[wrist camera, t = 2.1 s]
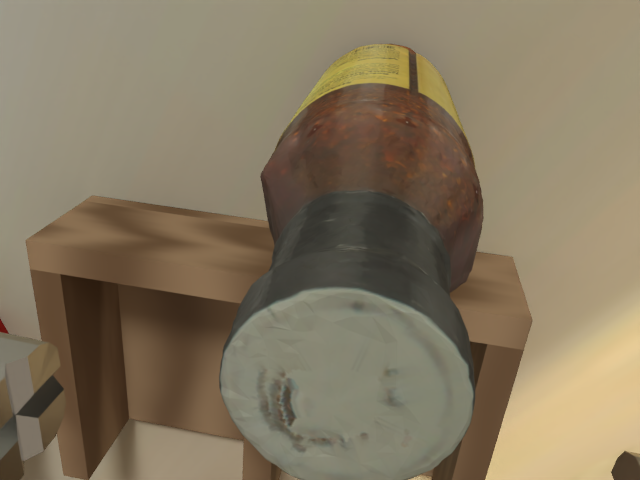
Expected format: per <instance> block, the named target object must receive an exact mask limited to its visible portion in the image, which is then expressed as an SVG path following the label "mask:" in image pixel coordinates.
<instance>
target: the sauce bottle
mask: <svg viewBox="0 0 640 480" xmlns="http://www.w3.org/2000/svg"><path fill="white" fill-rule="evenodd" d="M261 181H262V186H263V192H264V198H265V204H266V211H267V217H268V223H269V228H270V232H271V235H272V238H273V240H274V251H273V255H272V264H271V266H270V269H269V271H268V272H267V273H265V274H264V275H262V276H261V277H260V278H259V279H258V280H257V281H255V282H254V283H253V284H252V285H251V287H250V289H249V290H248V292H247V294H246V295H245V297H244V299H243V300H242V302H241V304H240V306H239V308H238V311H237V315H236V318H235V319H234V321H233V325H232V329H231V332H230V334H229V336H228V338H227V340H226V342H225V344H224V347H223V355H222V360H221V364H220V373H219V388H220V393H221V396H222V399H223V402H224V404H225V406H226V408H227V410H228V412H229V414H230V417H231V419H232V420H233V422H234V423H235V425H236V426H237V428H238V429H239V431H240V432H241V433H242V435H243V436H244V437H245V438H246V439H247V440H248V441H249V442H250V443H251V444H252V445H253V446H254V447H255V448H256V449H257V450H258V452H259V453H260V454H261V455H262V456H263V457H264V458H265V459H266V460H268V461H269V462H271V463H273V464H275V465H277V466H278V467H279V468H280V469H282V470H283V471H284V472H286V473H287V474H289V475H291V476H293V477H296V478H298V479H301V480H408V479H411V478H414V477H416V476H418V475H420V474H423V473H425V472H427V471H430V470H432V469H433V468H435V467H436V466H437V465H439V464H440V463H441V461H442V460H443V459H445V458H446V457H448V456H449V455H451V454H452V453H453V451H454V450H455V449H456V447H457V446H458V445H459V443H460V441H461V440H462V439H463V437H464V436H465V434H466V432H467V430H468V428H469V425H470V423H471V419H472V415H473V410H474V404H475V381H474V366H473V359H472V354H471V348H470V340H469V336H468V332H467V329H466V326H465V324H464V322H463V319H462V317H461V314H460V311H459V309H458V308H457V307H456V305H455V304H454V302H453V301H452V299H451V298H450V293H451V292H452V291H454V290H455V289H457V288H458V287H459V286H460V285H462V284H463V283H465V282H466V281H467V279H468V276H469V274H470V272H471V271H472V268H473V263H474V259H475V255H476V251H477V246H478V242H479V238H480V234H481V230H482V222H483V199H482V195H481V188H480V184H479V179H478V176H477V173H476V170H475V163H474V158H473V154H472V151H471V148H470V145H469V143H468V140H467V137H466V135H465V132H464V130H463V127H462V125H461V122H460V120H459V117H458V114H457V111H456V109H455V106H454V104H453V101H452V99H451V96H450V93H449V91H448V89H447V86H446V84H445V82H444V80H443V78H442V77H441V75H440V74H439V72H438V71H437V70H436V68H435V67H434V66H433V65H432V64H431V63H430V62H429V61H428V60H427V59H425V58H424V57H422V56H421V55H420V54H416V53H415V52H414V51H413V50H411V49H410V48H407V47H405V46H400V45H394V44H374V45H368V46H362V47H359V48H357V49H354V50H352V51H351V52H349V53H347V54H346V55H344V56H342V57H341V58H339V59H338V60H337V61H336V62H334V63H333V64H332V65H331V66H330V67H329V68H328V69H327V70H326V71H325V73H324V74H323V75H322V77H321V78H320V80H319V81H318V83H317V84H316V85H315V87H314V88H313V90H312V91H311V92H310V94H309V95H308V96H307V98H306V99H305V101H304V102H303V103H302V105H301V106H300V108H299V109H298V111H297V112H296V114H295V115H294V117H293V119H292V120H291V122H290V123H289V125H288V126H287V128H286V129H285V130H284V132H283V133H282V135H281V137H280V139H279V141H278V144H277V146H276V148H275V151H274V153H273V154H272V156H271V158H270V160H269V161H268V163H267V164H266V166H265V168H264V170H263V171H262V173H261Z"/></svg>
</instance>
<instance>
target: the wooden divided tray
mask: <svg viewBox="0 0 640 480" xmlns="http://www.w3.org/2000/svg"><path fill="white" fill-rule="evenodd" d="M26 246H27V252H28V259H29V265H30V271H31V277H32V283H33V289H34V296H35V302H36V308H37V314H38V320H39V326H40V333H41V339H42V341H44V342H49V343H51V344H52V345H54V346H55V347H57V349H58V354H59V359H60V364H61V366H60V367H59V369H58V370H57V371H56V372H55V374H54V375H53V376H54V377H55V378H56V380H57V381H58V382H59V383H60V385H61V386H62V387H63V388H64V392H65V400H66V404H65V412H64V418H63V420H62V422H61V425H60V427H59V429H58V432H57V437H58V443H59V449H60V456H61V462H62V468H63V474H64V475H65V476H70V477H75V478H79V479H84V480H89V479H90V477H91V475H92V474H93V472H94V471H95V469H96V468H97V466H98V465H99V463H100V462H101V460H102V459H103V457H104V456H105V454H106V453H107V451H108V450H109V448H110V447H111V445H112V444H113V442H114V441H115V439H116V438H117V436H118V435H119V433H120V432H121V430H122V429H123V427H124V426H125V424H126V423H127V421H128V420H129V418H130V419H135V420H140V421H145V422H150V423H156V424H161V425H166V426H171V427H176V428H182V429H187V430H192V431H197V432H203V433H208V434H213V435H218V436H223V437H229V438H234V439H239V440H244V450H243V480H279V477H280V474H281V470H282V469H280V468H279V467H278V466H277V465H275V464H273V463H271V462H269V461H268V460H266V459H265V458H264V457H263V456H262V455H261V454H260V453H259V452H258V450H257V449H256V448H255V447H254V446H253V445H252V444H251V443H250V442H249V441H248V440H247V439H246V438H245V437H244V436H243V435H242V433H241V432H240V431H239V429H238V428H237V426H236V425H235V423H234V422H233V420H232V419H231V417H230V414H229V412H228V410H227V408H226V406H225V404H224V402H223V399H222V396H221V393H220V388H219V373H220V364H221V360H222V355H223V347H224V344H225V342H226V340H227V338H228V336H229V334H230V332H231V329H232V325H233V321H234V319H235V318H236V315H237V311H238V308H239V306H240V304H241V302H242V300H243V299H244V297H245V295H246V294H247V292H248V290H249V289H250V287H251V285H252V284H253V283H254V282H255V281H257V280H258V279H259V278H260V277H261V276H262V275H264V274H265V273H267V272H268V271H269V269H270V266H271V264H272V255H273V251H274V240H273V238H272V235H271V232H270V228H269V223H268V221H262V220H256V219H249V218H242V217H235V216H228V215H221V214H215V213H208V212H201V211H194V210H187V209H180V208H174V207H167V206H160V205H153V204H146V203H139V202H133V201H126V200H119V199H112V198H105V197H98V196H91V197H89V198H88V199H86V200H85V201H84V202H82V203H81V204H79V205H78V206H76V207H75V208H73V209H72V210H70V211H69V212H67V213H66V214H64V215H63V216H61V217H60V218H58V219H57V220H55V221H54V222H52V223H51V224H49V225H48V226H46V227H45V228H43V229H42V230H40V231H39V232H37V233H36V234H34V235H33V236H31V237H30V238H28V239H27V240H26ZM450 298H451V299H452V301H453V302H454V304H455V305H456V307H457V308H458V309H459V311H460V314H461V317H462V319H463V322H464V324H465V326H466V329H467V332H468V336H469V340H470V348H471V354H472V359H473V366H474V381H475V404H474V410H473V415H472V419H471V423H470V425H469V428H468V430H467V432H466V434H465V436H464V437H463V439H462V440H461V441H460V443H459V445H458V446H457V447H456V449H455V450H454V451H453V453H452V454H451V455H449V456H448V457H446V458H445V459H443V460H442V461H441V463H440V464H439V465H437V466H436V467H435V468H433V469H432V470H430V471H427V472H425V473H423V474H422V475H427V476H432V480H485V478H486V475H487V471H488V468H489V464H490V461H491V458H492V454H493V451H494V448H495V444H496V441H497V438H498V434H499V431H500V428H501V424H502V421H503V418H504V414H505V411H506V408H507V404H508V401H509V398H510V394H511V391H512V387H513V384H514V381H515V377H516V374H517V371H518V367H519V364H520V361H521V357H522V354H523V351H524V347H525V344H526V341H527V337H528V334H529V331H530V327H531V324H532V317H531V314H530V311H529V308H528V305H527V301H526V298H525V295H524V292H523V289H522V285H521V282H520V279H519V276H518V273H517V270H516V266H515V263H514V260H513V257H509V256H502V255H495V254H488V253H481V252H476V255H475V259H474V263H473V268H472V271H471V272H470V274H469V276H468V279H467V281H466V282H465V283H463V284H462V285H460V286H459V287H458V288H457V289H455V290H454V291H452V292H451V293H450Z"/></svg>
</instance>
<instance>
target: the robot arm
mask: <svg viewBox="0 0 640 480" xmlns="http://www.w3.org/2000/svg"><path fill="white" fill-rule="evenodd" d="M60 366H61V364H60V359H59V354H58V349H57V347H55V346H54V345H52V344H51V343H49V342H44V341H40V340H35V339H30V338H26V337H21V336H16V335H12V334H7V333H2V332H0V480H20V479H21V478H22V477H23V476H24V461H25V460H27V459H29V458H31V457H33V456H35V455H37V454H39V453H41V452H43V451H44V450H45V449H46V448H47V446H48V445H49V444H50V443H51V441H52V440H53V439H54V437H55V436H56V434H57V432H58V429H59V427H60V425H61V422H62V420H63V418H64V412H65V404H66V400H65V392H64V388H63V387H62V386H61V385H60V383H59V382H58V381H57V380H56V378H55V377H54V376H53V375H54V374H55V372H56V371H57V370H58V369H59V367H60ZM611 473H612V476H613V478H614V480H640V454H638V453H633V452H627V451H625V452H624V453H622V454H621V455H620V456H619V457H618V458H617V460H616V463H615V465H614V467H613V469H612V472H611Z"/></svg>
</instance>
